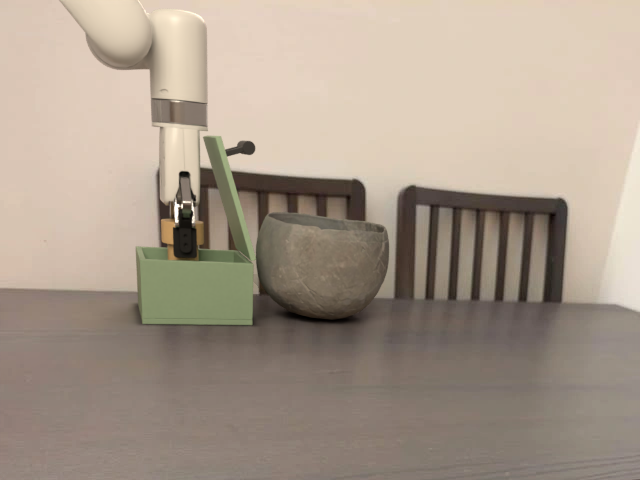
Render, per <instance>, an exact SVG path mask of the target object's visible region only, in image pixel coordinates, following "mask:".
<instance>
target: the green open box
mask: <svg viewBox="0 0 640 480" xmlns="http://www.w3.org/2000/svg"><path fill="white" fill-rule="evenodd" d="M198 254H199V261H184V260H168V247H163V246H161V247H160V246H142V245H141V246H140V245H138V246H137V245H136V246H135V265H136V286H137V305H138V311H139V314H140V319H141V323H142V325H187V326H188V325H189V326H190V325H191V326H192V325H194V326H195V325H196V326H198V325H199V326H200V325H201V326H202V325H203V326H205V325H206V326H253V323H254V322H253V321H254V320H253V318H254V316H253V315H254V314H253V313H254V269H255V268H254V266H255V265H254V263H253V261H251V260H249V259H248V258H247V257H246V256H245V255H243V254H242V253H241V252H240V251H239V250H237V249H236V250H234V249H213V248H212V249H211V248H210V249H209V248H198Z"/></svg>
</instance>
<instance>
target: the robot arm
mask: <svg viewBox="0 0 640 480" xmlns="http://www.w3.org/2000/svg"><path fill="white" fill-rule="evenodd" d="M58 1H59V2H60V4H61V5H62V6H63V7H64V8H65V9H66V11H67V12H68V13H69V14H70V15H71V17H72V18H73V20H75V22H76V23H77V24H78V25H79V27H80V28H81V30H82V31H83V32H84V34H85V41H86V44H87V46H88V49H89V51H90V52H91V54H92V56H93V57H94V58H95V60H97V61H98V62H99V63H101V64H102V65H103V66H105V67H107V68H109V69H112V70H117V71H133V70H136V71H137V70H149V87H150V90H149V91H150V116H151V120H150V121H151V127H153V128H159V136H158V162H159V163H158V164H159V165H158V168H159V200H160V201H161V202H162V203H163V204H164V205H165V206H166V207H167V206H169V219H175V227H173V251H174V256H175V257H178V258H196V257H197V229H196V228H195V220H196V211H195V210H196V209H195V208H196V207H198V206H199V205H200V200H201V137H200V136H201V135H200V134H201V133H200V132H209V105H208V102H209V101H208V95H209V94H208V93H209V91H208V29H207V28H208V27H207V24H206V21H205V19H204V18H203V17H202V16H201V15H199V14H197V13H195V12H192V11H188V10H184V9H177V8H158V9H155V10H153V11H151V12H147V11H146V9H145V7H144V5H143V4H142V3H141V1H140V0H58Z"/></svg>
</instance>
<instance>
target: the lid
mask: <svg viewBox="0 0 640 480" xmlns="http://www.w3.org/2000/svg"><path fill="white" fill-rule="evenodd" d="M202 139H203V143H204V145H205V149H206V153H207V156H208V159H209V163H210V166H211V171H212V172H213V176H214V179H215V184H216V187H217V190H218V193H219V197H220V199H221V203H222V207H223V210H224V213H225V216H226V220H227V223H228V226H229V230H230V234H231V237H232V241H233V243H234V247H235V249H236V250H237V251H239V252H240V253H241V254H243V255H244V256H245V257H246V258H247V259H248V260H250V261H251V262H254V261H256V252H255V250H254V245H253V243H252V239H251V236H250V232H249V229H248V224H247V222H246V218H245V215H244V211H243V208H242V207H243V206H242V204H241V201H240V197H239V193H238V190H237V186H236V183H235V180H234V176H233V172H232V169H231V166H230V162H229V159H228V157H231V156H235V155H240V154H241V155H247V156H252V155H253V154H255V152H256V145H255V143H254V142H253V141H251V140H239V141H238V142H237V144H236V146H232V147H228V148H225V145H224V142H223V141H224V140H223V138H222V135H204V136H202Z"/></svg>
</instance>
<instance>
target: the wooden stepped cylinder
mask: <svg viewBox="0 0 640 480" xmlns="http://www.w3.org/2000/svg"><path fill="white" fill-rule="evenodd" d="M204 225H205V223H204V221H201V220H197V219H195V228H196V229H197V257H196V258H178V257H175V256H174V251H173V227H175V219H170V218H162V219H161V220H160V234H161V235H160V236H161V237H160V238H161V243H163V244H167V246H166V248H168V260H184V261H199V254H198V249H199V246H203V245H204V244H205V226H204Z"/></svg>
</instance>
